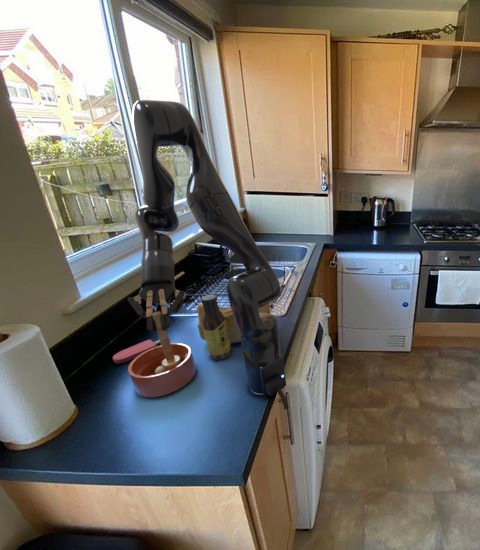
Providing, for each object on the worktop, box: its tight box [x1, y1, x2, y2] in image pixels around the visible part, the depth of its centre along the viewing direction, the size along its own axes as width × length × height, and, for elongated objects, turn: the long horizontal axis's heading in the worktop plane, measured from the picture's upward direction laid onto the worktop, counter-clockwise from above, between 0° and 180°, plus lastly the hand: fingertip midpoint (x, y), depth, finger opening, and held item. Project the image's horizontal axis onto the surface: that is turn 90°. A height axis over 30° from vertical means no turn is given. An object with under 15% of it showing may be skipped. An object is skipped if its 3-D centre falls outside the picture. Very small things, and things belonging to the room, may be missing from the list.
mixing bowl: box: [127, 342, 197, 398], centre depth 83 cm, size 14×14×7 cm
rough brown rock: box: [196, 302, 271, 344], centre depth 103 cm, size 23×17×15 cm
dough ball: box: [155, 366, 168, 375], centre depth 85 cm, size 3×3×3 cm
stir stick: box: [152, 311, 181, 369], centre depth 81 cm, size 4×4×16 cm
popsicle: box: [112, 338, 161, 364], centre depth 96 cm, size 5×2×15 cm
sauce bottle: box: [200, 294, 232, 361], centre depth 91 cm, size 7×6×20 cm
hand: (158, 330), depth 78 cm, fingers closed on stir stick, 2 cm apart
